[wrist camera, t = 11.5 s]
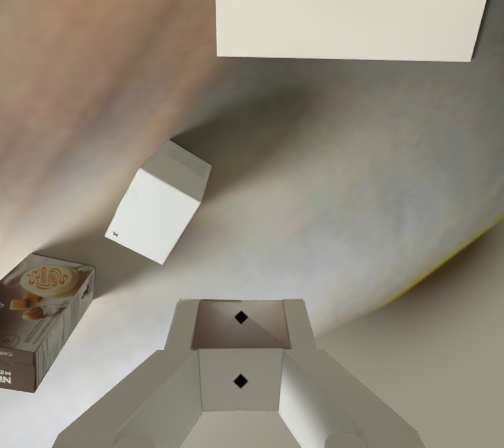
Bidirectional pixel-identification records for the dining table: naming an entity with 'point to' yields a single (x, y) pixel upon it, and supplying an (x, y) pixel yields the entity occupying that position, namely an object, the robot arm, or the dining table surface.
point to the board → (349, 29)
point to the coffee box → (39, 316)
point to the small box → (160, 202)
